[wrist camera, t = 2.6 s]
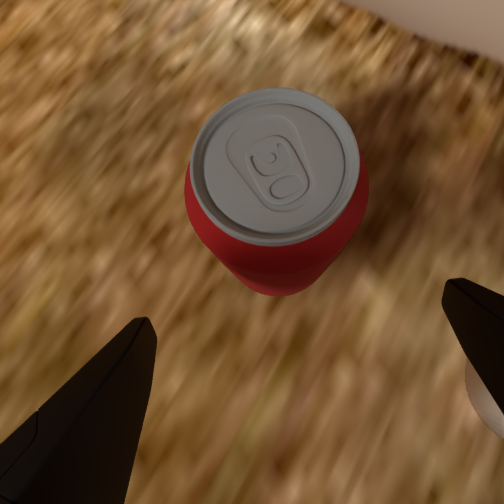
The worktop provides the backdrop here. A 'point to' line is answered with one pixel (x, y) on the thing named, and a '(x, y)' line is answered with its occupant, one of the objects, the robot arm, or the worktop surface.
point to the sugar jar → (483, 401)
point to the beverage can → (276, 188)
